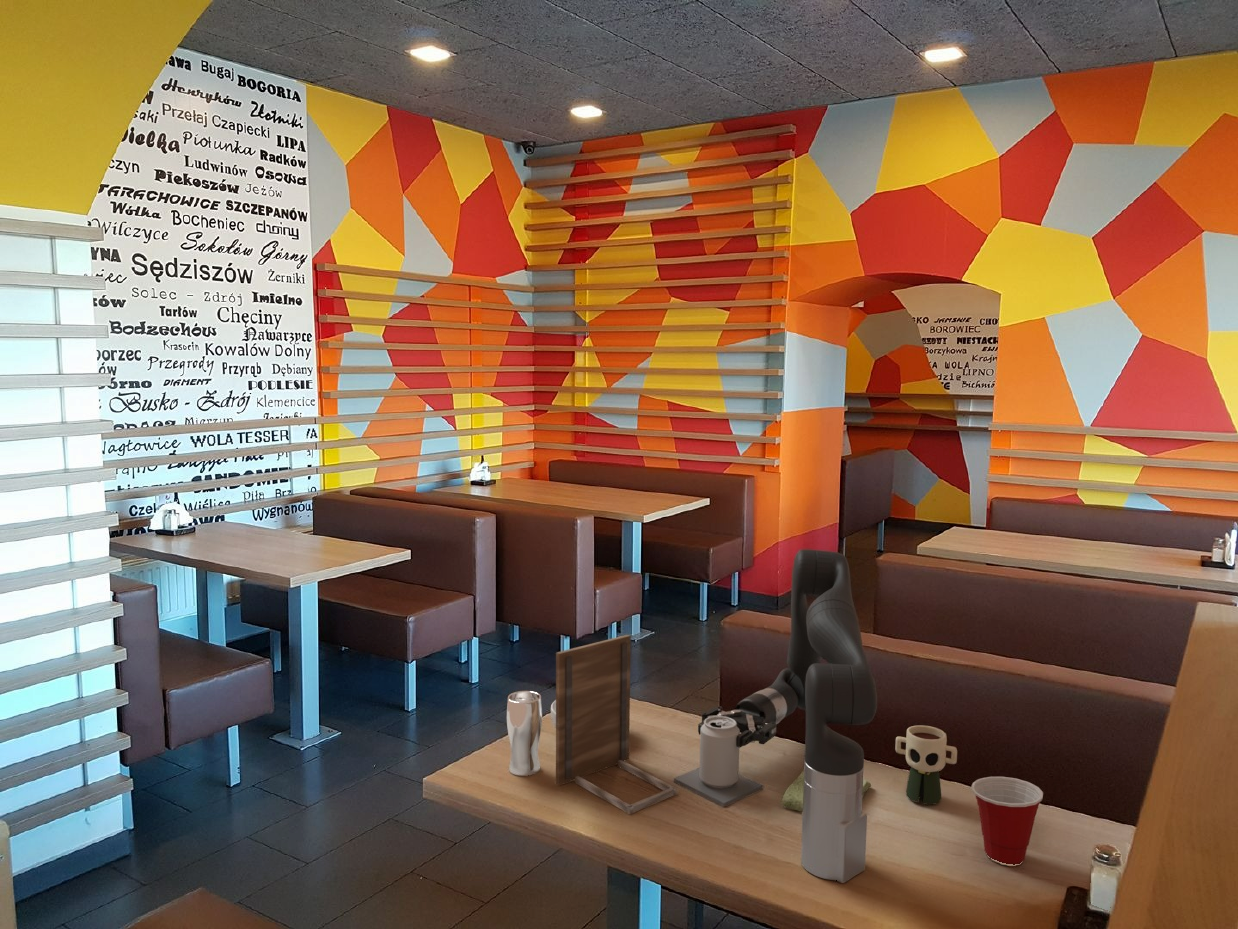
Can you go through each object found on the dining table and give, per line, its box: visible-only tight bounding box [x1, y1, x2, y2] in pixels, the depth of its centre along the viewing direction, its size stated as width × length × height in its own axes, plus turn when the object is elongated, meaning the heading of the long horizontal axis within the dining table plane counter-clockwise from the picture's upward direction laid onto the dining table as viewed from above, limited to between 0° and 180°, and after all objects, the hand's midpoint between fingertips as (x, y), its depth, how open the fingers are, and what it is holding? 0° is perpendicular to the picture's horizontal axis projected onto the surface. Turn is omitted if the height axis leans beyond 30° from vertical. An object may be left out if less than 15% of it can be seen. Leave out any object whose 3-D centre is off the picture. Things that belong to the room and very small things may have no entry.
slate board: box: [673, 766, 764, 808], centre depth 171 cm, size 13×11×1 cm
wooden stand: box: [555, 634, 678, 815], centre depth 168 cm, size 18×18×26 cm
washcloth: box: [780, 769, 872, 814], centre depth 166 cm, size 13×18×3 cm
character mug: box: [894, 724, 958, 805], centre depth 165 cm, size 11×7×13 cm, turn 63°
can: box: [699, 716, 741, 788], centre depth 170 cm, size 8×8×12 cm
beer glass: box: [506, 690, 543, 777], centre depth 176 cm, size 7×7×15 cm
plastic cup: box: [970, 776, 1044, 865], centre depth 146 cm, size 11×11×12 cm
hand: (718, 736), depth 170 cm, fingers open, 8 cm apart
